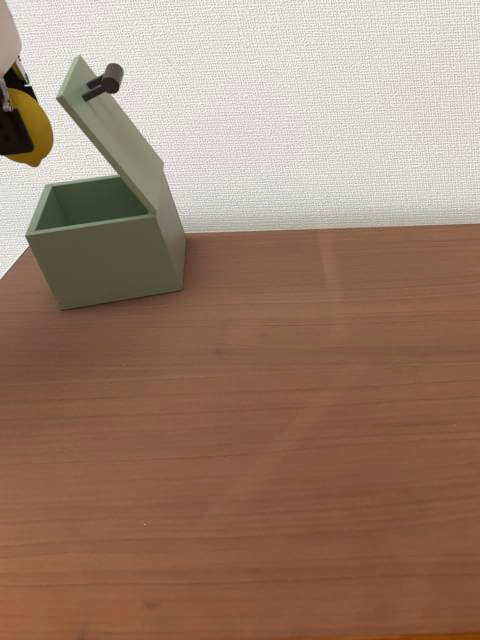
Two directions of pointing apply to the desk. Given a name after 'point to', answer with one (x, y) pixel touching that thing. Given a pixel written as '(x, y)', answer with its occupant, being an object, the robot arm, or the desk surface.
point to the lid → (112, 128)
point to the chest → (106, 242)
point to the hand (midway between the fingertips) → (23, 138)
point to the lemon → (32, 128)
